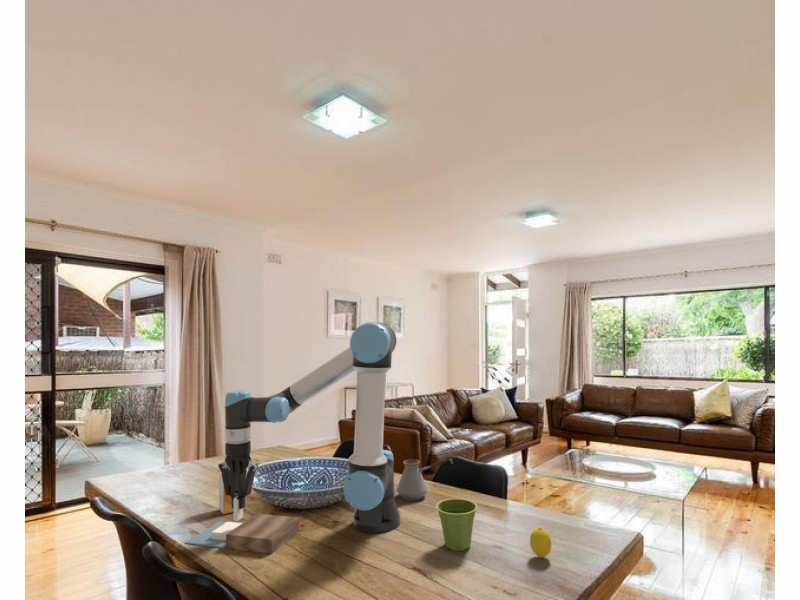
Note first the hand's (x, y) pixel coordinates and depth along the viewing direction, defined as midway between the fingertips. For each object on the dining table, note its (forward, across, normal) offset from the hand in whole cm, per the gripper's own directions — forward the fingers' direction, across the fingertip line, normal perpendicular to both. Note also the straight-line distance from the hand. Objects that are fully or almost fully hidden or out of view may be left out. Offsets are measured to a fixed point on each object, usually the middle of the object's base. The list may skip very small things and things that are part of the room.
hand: (238, 518), depth 147 cm
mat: (+5, -6, 0) cm, 8 cm away
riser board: (+5, +9, 0) cm, 10 cm away
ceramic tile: (+5, -3, 0) cm, 6 cm away
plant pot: (+6, +66, +9) cm, 67 cm away
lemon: (+6, +90, +7) cm, 90 cm away
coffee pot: (+6, +48, +45) cm, 66 cm away
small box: (+6, -16, +19) cm, 25 cm away
